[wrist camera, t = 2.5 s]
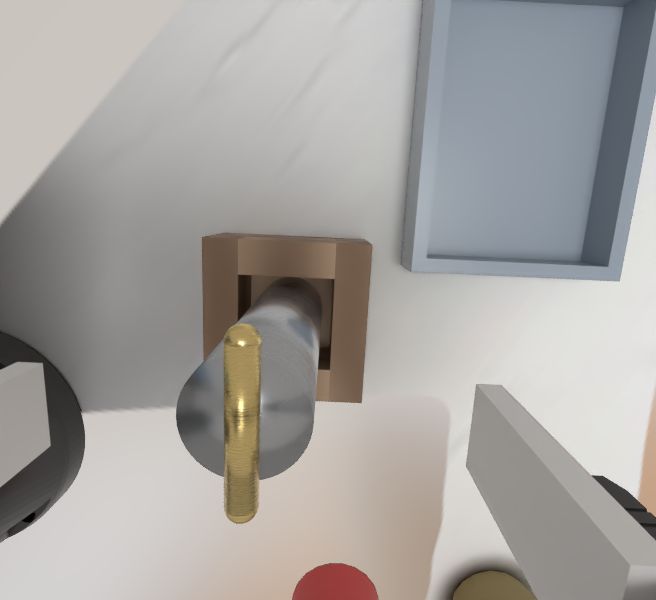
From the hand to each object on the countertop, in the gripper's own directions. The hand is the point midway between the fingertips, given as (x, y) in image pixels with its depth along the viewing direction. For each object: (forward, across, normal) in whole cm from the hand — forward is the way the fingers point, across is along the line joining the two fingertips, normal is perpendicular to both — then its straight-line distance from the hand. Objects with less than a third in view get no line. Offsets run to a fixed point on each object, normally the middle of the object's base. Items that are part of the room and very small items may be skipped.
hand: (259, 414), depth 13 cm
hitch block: (+16, 0, 0) cm, 16 cm away
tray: (+16, +13, +11) cm, 23 cm away
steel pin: (+14, 0, 0) cm, 15 cm away
